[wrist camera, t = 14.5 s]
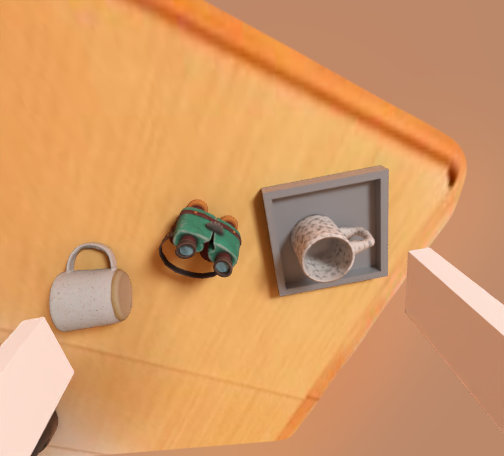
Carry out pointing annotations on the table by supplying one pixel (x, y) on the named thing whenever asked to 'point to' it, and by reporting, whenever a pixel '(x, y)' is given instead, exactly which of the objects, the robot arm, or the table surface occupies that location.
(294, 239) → the mug
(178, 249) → the binoculars
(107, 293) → the ceramic mug
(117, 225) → the table surface
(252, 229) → the table surface
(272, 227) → the tray
